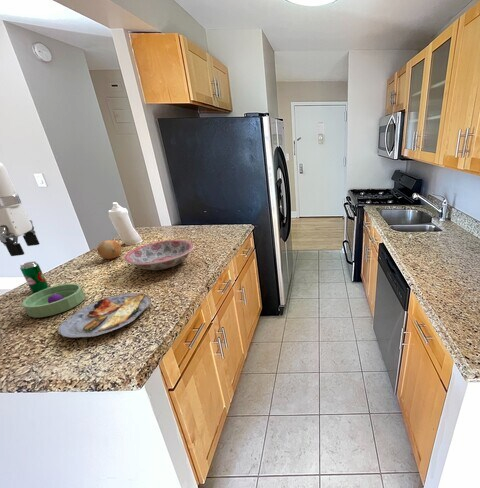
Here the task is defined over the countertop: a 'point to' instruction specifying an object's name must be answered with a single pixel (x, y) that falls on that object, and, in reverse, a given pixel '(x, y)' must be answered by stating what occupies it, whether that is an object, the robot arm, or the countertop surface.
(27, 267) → the soda can
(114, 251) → the onion
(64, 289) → the green bowl
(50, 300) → the ball
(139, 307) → the food plate
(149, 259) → the ceramic bowl
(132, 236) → the white squeeze bottle
